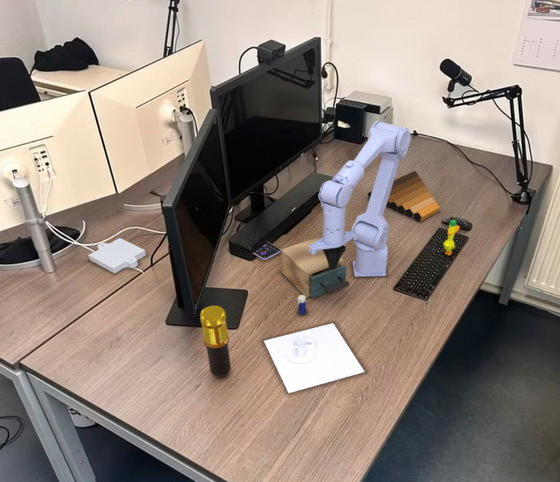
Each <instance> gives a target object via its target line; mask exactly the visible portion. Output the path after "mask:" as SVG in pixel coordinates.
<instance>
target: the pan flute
mask: <svg viewBox="0 0 560 482" xmlns="http://www.w3.org/2000/svg"><path fill="white" fill-rule="evenodd" d="M371 194H372V190H371V191H369V192H367V197H368V200H370V197H371ZM386 208H390V209H391V210H392V211H394V212H398V213H399V214H401V215H406V217H408V218H410V219H414V221H416V222H418V223H420V222H422V221H424V220H425V219H427V218H429V217H432V216H433V215H434V214H437V213H438V212H439V211H440V205H439V204H438V203H437V201H436V199H435V198H434V197H433V195H432V193H431V192H430V191H429V189H428V187H427V186H426V184H425V183H424V181H423V180H422V178H421V177H420V175H419V174H418V173H417V171H416V170H413V171H411V172H409V173H406V174H404V175H403V176H400V177H398V178H396V179H394V182H393V185H392V189H391V192H390V195H389V198H388V202H387V205H386Z"/></svg>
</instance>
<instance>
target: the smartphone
mask: <svg viewBox="0 0 560 482" xmlns="http://www.w3.org/2000/svg"><path fill="white" fill-rule="evenodd" d="M252 254H253V255H254V256H256V257H258V258H259V259H261V260H263V261H266V260H270V259H271V258H272V257H274V256H276V255H278V254H281V248H280V247H277V246H276V245H274V244H272V243H271V242H269V241H267V243H266V244H265V245H263V246H262V247H261V248H259V249H258V250H257V251H256V252H254V253H252Z"/></svg>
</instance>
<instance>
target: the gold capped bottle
mask: <svg viewBox="0 0 560 482" xmlns="http://www.w3.org/2000/svg"><path fill="white" fill-rule="evenodd" d="M199 316H200V317H199V318H200V324H201V328H202V334H203V344H204V346H205V347H206V353H207V359H208V364H209V371H210V373H211V374H212V375H214V376H215V377H217V378H218V379H223V378H225V377H226V376H228V374H229V373H230V371H231V369H232V367H231V366H232V365H231V358H230V351H229V350H230V349H229V343H230V342H229V341H230V337H229V333H228V327H227V315H226V311H225V309H224V308H223V307H221V306H219V305H209V306H207V307H204V308H203V309H202V310H201V311H200V314H199Z"/></svg>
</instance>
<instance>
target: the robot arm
mask: <svg viewBox="0 0 560 482" xmlns="http://www.w3.org/2000/svg"><path fill="white" fill-rule="evenodd" d="M411 139H412V136H411V132H410V129H409V127H403V126H400V125H396V124H391V123H388V122H383V121H382V120H376V121H375V122H374V123H373V124H372V125H371V126H370V128H369V130H368V135H367V141H366V142H365V143H364V145H363V146H362V148H361V149H360V151H359V152H358V154H356V157H355V158H354V159H353V160H347V161H346V162H345V164H344V165H343V166H342V167H341V168H340V170H338V172H337V173H336V174H335V175H334V176H333V178H332V179H329V180H326V181H324V182H323V183H322V185H321V186H320V189H319V193H318V195H317V196H318V200H319V201H320V207H321V208H322V212H323V213H322V237H321V238H318V239H319V240H318V241H316V242H315V243H313V244H311V245H309V252H310V253H311V254H312V255H314V254H316V252H318V251H321V250H323V252H324V253H325V256H326V258H327V261H328V266H329V267H330V268H331V269H332V270H334V269H336V268H337V265H338V262H339V260H340V258H342V256H343V254H344V253H345V252H346V250H347V247H346V246H345V244H346V243H348V242H350V241H353V244H354V245H355V256H354V257H355V258H354V259H355V260H353V261H352V269H353V274H354V277H356V278H361V277H362V278H363V277H365V278H366V277H387V265H388V245H387V242H388V238H389V230H390V224H389V222H388V221H387V219H386V218H385V217H384V214H385V211H386V208H387V207H386V205H387V202H388V198H389V195H390V192H391V189H392V185H393V182H394V180H396V179H395V178H396V175H397V172H398V169H399V166H400V162H401V160H404V159H405V158H406V156H407V152H408V150H409V146H410V143H411ZM379 155H380V158H381V159H380V162H379V163H380V165H379V168H378V170H377V174H376V176H375V180H374V183H373V187H372V190H371V191H372V194H371V197H370V199H368V204H367V207H366V211H365V212H363V213H361V214H359V215H357V216H356V219H355V221H354V223H353V224H352V225H351V229H350V230H349V231H345V227H346V207H347V205H348V204H349V202H350V200H351V197H352V195H353V193H354V189H355V187H356V186H357V185H358V184H359V183H360V182H361V181H362V179H363V178H364V177H365V169H366V168H367V167H368V166H369V165H370V164H371V163H372V162H373V161H374V160H376V158H377V157H378V156H379Z"/></svg>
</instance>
